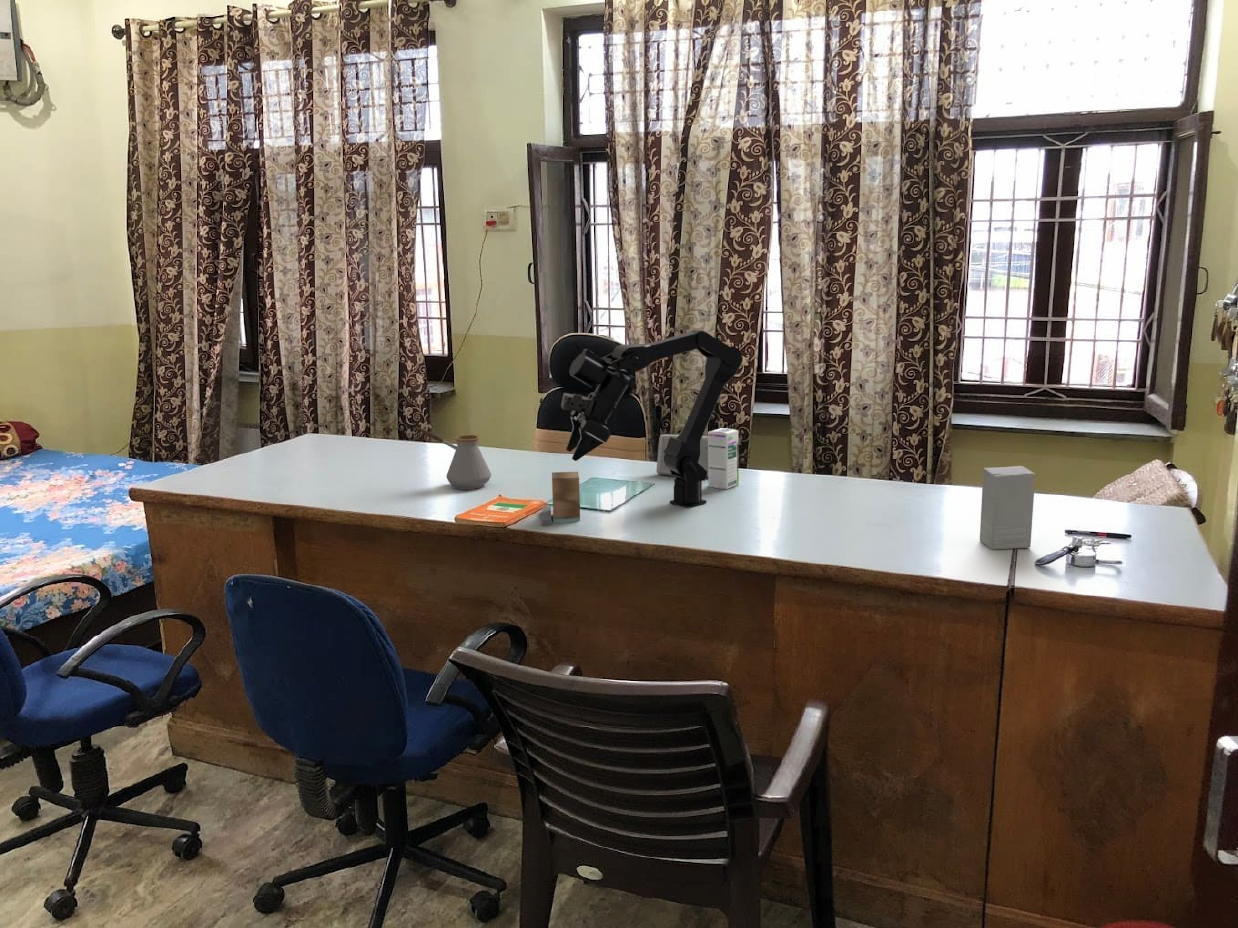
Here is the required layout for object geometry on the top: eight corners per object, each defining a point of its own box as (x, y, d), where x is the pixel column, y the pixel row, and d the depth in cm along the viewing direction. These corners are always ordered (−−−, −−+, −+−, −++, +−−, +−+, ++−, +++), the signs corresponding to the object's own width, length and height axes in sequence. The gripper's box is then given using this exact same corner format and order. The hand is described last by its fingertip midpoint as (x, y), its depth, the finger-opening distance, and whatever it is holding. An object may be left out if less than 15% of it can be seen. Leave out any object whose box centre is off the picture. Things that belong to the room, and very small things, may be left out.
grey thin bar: (550, 511, 229) (550, 506, 228) (551, 525, 217) (551, 520, 217) (542, 511, 228) (542, 506, 228) (542, 525, 217) (542, 520, 216)
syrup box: (727, 489, 246) (727, 432, 243) (707, 486, 249) (707, 430, 246) (738, 485, 250) (739, 429, 247) (719, 482, 254) (719, 427, 251)
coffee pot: (499, 482, 257) (497, 426, 254) (478, 493, 247) (475, 434, 244) (429, 477, 265) (426, 422, 262) (405, 486, 254) (401, 430, 251)
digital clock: (653, 475, 263) (652, 436, 261) (668, 468, 271) (668, 430, 268) (708, 481, 255) (708, 441, 253) (722, 474, 263) (722, 435, 260)
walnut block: (579, 513, 226) (578, 471, 224) (580, 520, 220) (579, 477, 218) (553, 514, 226) (551, 472, 223) (553, 521, 220) (552, 478, 218)
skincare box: (1017, 539, 201) (1022, 464, 198) (1032, 550, 194) (1038, 472, 191) (976, 540, 201) (981, 465, 197) (990, 551, 194) (995, 473, 190)
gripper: (570, 372, 227) (535, 429, 228) (582, 385, 209) (545, 447, 210) (610, 396, 230) (576, 452, 231) (626, 410, 212) (589, 471, 214)
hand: (570, 455), depth 222 cm, fingers open, 9 cm apart
